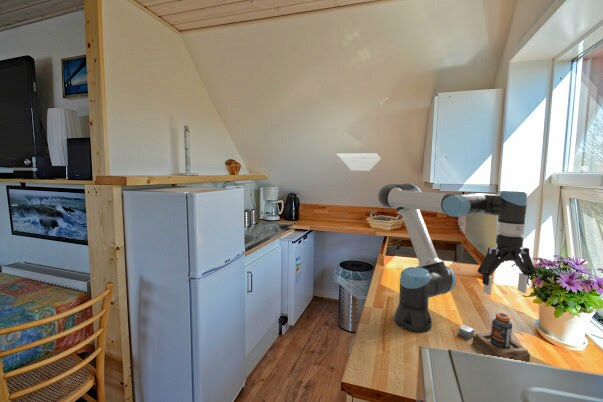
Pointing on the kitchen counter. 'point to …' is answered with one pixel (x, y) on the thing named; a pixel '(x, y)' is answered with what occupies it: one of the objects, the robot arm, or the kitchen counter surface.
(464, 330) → the block
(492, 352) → the stand
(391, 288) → the kitchen counter surface
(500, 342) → the pill bottle
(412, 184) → the robot arm
